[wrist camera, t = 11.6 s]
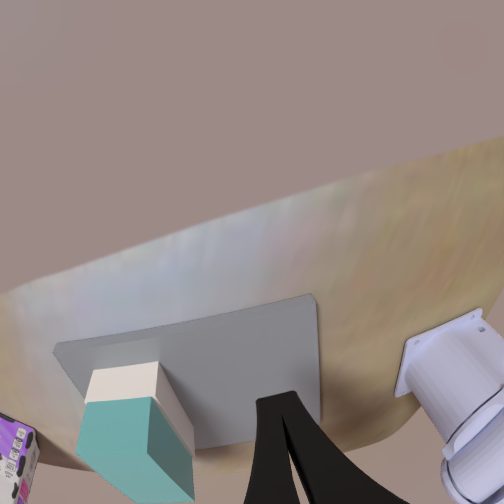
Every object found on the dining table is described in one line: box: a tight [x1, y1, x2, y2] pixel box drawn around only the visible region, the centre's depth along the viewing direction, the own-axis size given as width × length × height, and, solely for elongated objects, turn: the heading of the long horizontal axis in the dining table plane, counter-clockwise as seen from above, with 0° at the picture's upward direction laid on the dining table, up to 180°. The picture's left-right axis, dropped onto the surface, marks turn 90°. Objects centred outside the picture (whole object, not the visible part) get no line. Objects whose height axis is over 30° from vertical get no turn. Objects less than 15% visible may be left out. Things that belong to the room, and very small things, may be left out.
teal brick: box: [75, 396, 195, 503], centre depth 16 cm, size 4×8×4 cm, turn 10°
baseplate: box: [53, 294, 320, 457], centre depth 20 cm, size 18×14×4 cm
